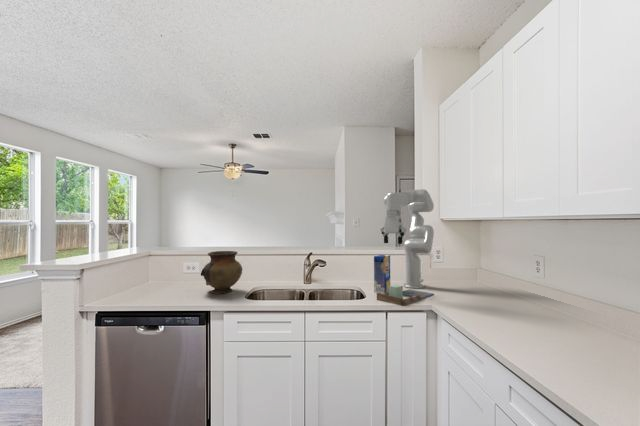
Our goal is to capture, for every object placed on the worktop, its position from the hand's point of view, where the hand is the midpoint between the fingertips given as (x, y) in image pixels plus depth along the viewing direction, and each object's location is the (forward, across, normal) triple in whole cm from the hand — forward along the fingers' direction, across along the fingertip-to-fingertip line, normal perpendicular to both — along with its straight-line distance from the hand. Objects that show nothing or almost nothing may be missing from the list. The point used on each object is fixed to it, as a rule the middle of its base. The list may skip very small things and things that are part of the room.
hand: (392, 243), depth 176 cm
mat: (+30, -5, -16) cm, 34 cm away
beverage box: (+30, +13, -8) cm, 34 cm away
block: (+31, -5, +4) cm, 32 cm away
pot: (+33, +78, +68) cm, 109 cm away
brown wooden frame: (+31, -5, +2) cm, 31 cm away
